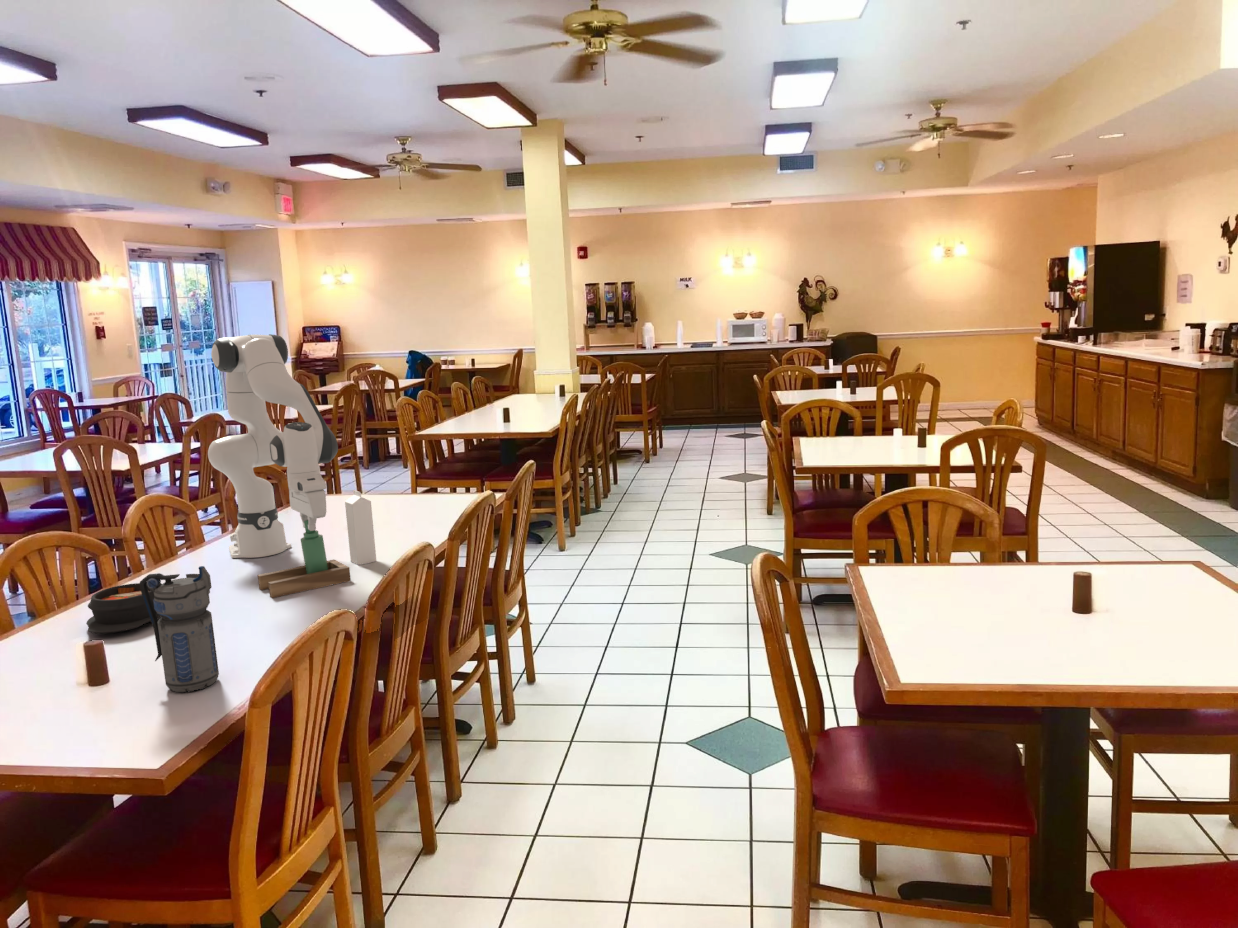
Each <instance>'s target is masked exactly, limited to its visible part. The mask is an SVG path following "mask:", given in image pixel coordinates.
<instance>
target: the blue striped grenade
mask: <svg viewBox="0 0 1238 928" xmlns="http://www.w3.org/2000/svg"><path fill="white" fill-rule="evenodd" d="M198 571H199V572H198V573H186V574H185V577H182V578H179V576H180V573H177V574H167V575H164V574H163V573H150V574H147V575H146V576H145V577H143V578H142V579H141V580H140V581H139V583H140V587H141V593H142V596H143V599H144V602H145V605H146V608H147V611H148V614H149V616H150V619H151V622H150V623H151V625H152V628H153V630H154V637H155V638H154V639H155V644H156V650H157V656H156V658H155V660H154V662H157V661H158V660H159V659H160V657H161V659H162V666H163V674H164V680H165V686H167V688H168V689H169V691H172V692H177V693H187V692H186V691H191V692H195V691H194V690H197V691H199V690H198V689H200V690H203V689H205V688H207V686H208V687H210V686H211V685H213V684H214V683H216V682H217V680H218V677H219V675H220V673H219V671H220V670H219V666H218V665H219V664H218V657H217V649H216V648H217V647H216V641H215V632H214V631H215V630H214V625H213V624H214V623H213V615H212V612H211V611H209V610H208V607H209V605H210V603H211V601H210V600H211V599H210V594H211V589H212V581H211V579H212V578H211V574H210V573H209V572H208V570H207V569H206V567H205V566H204V565H201V566H199V567H198ZM162 581H164V582H163V583H162ZM148 588H149V589H150V590H151V591H152V592H153V593H154V600H153V602H154V607H153V604H152V601H151V598H150V595H149V592H148ZM154 609H155V610H156V612H157V613H158V614H159V615H160V616H161V617H159V618H157V616H156V613H155V610H154ZM202 688H203V689H202Z"/></svg>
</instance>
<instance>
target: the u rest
mask: <svg viewBox="0 0 1238 928" xmlns="http://www.w3.org/2000/svg"><path fill="white" fill-rule="evenodd" d="M327 564H328V570H325V571H320V572H316V573H311V574H306V568H305V564H304V565H301V566H300V565H299V566H295V567H292V568H286V569H280V570H275V571H271V572H265V573H260V574H257V581H258V589H259V590H260V591H263V590H264V591H265V590H269V591H268V592H269V597H270V598H271V599H274V598H278V597H279V598H280V597H283V596H288V595H292V594H298V593H302V592H306V591H310V590H315V589H320V588H325V587H329V585H330V586H333V585H332V584H334V585H337V584H338V583H339V584H343V583H342V582H344V583H346V582H347V583H348V582H351V580H352V579H351V569H350V568H351V567H350V566H348V565H345V564H344V563H342V562H341V561H338V560H337V559H330V560H327ZM324 586H325V587H324Z"/></svg>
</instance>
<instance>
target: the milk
mask: <svg viewBox="0 0 1238 928" xmlns="http://www.w3.org/2000/svg"><path fill="white" fill-rule="evenodd" d="M352 492H353V495H351V496H350V497H349V498H347V499H345V501H344V505H345V514H346V515H345V516H346V518H345V519H346V524H347V525H346V528H347V536H348V537H347V539H348V545H349V546H348V547H349V548H348V549H349V556H350V562H351V563H353V564H355V565H358V566H360V565H364V564H370V563H374V562H377V553H376V552H377V551H376V542H375V540H376V539H375V530H374V519H373V511H372V510H373V509H372V501H371V500H369V499H368V498H367V499H366V498H364V497H362V493H361V491H358V490H355V489H353V491H352Z"/></svg>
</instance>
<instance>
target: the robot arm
mask: <svg viewBox="0 0 1238 928" xmlns="http://www.w3.org/2000/svg"><path fill="white" fill-rule="evenodd" d="M210 354H211V360H212V362H213V365H214V367H215V368H216V369H217V370H218V371H219V372H222V373H226V374H225V389H226V390H225V392H226V400H227V401H226V402H227V412H228V415H229V416H230V418H231V419H232V420H233V421H235V422H238V423H240V424H243V425H245V426H246V428H247V433H243V434H235V435H234V434H233V435H228V436H224V437H221V438H217V439H216V440H213V441H212V442H211V443H210V444H209V447H208V450H207V458H208V461H209V463H210V465H211V466H212V467H213V468H214V469H215V470H217V471H219V472H220V473H222V474H223V475H225V476H226V477H227V478H228V479H229V481H230V482H231V483H232V486H233V488H234V491H235V496H236V501H237V506H238V507H237V508H238V512H237V515H236V516H237V517H236V518H237V523H238V525H237V526H236V529H235V530H234V533H233V534H229V539H230V542H231V543H233V542H234V543H233V544H231V545H229V546H228V549H229V550H228V551H229V553H230V556H231V557H230V558H232V559H238V558H241V559H242V558H245V559H246V558H247V559H248V558H249V559H250V558H251V559H253V558H264V557H268V556H273V555H277V554H280V553H282V552H285V551H286V550H287V549H290V548H292V543H290V542H287V538H286V534H285V533H286V532H285V527H284V524H283V522H281V521H280V520H279V516H278V513H279V511H278V508H277V507H276V503H275V502H276V500H275V494H274V486H273V485H272V483H271V482H270V481H269V480H267V479H265V478H263V477H259V476H257V475H256V473H255V471H254V469H255V468H257V467H264V466H270V465H271V466H272V465H277V466H279V467H283V468H286V467H287V468H286V477H287V487H288V488H287V489H288V494H289V496H288V497H289V506H290V508H291V510H292V511H296V512H298V513H299V516H300V519H301V522H302V528H303V529H305V525H304V521H305V520H308V530H310V531H314V530H316V529H317V526H316V524H317V519H321V518H325V517H326V515H327V497H326V491H325V490H326V489H327V482H326V480H324V478H323V477H322V474H321V467H320V465H319V464H329V463H330V462H331V461H332V460H334V458H335V457H336V455H337V453H338V451H339V444H338V441H337V438H336V436H335V434H334V433H333V431H332V430H331V429H330V427H329V425H327V423H326V421H325V420H324V419H325V418H323V416H322V414H321V413H320V410H319V408H318V407H317V405H316V403H315V402H314V400H313V397H312V396H311V394H310V392H309V391H308V390H307V388H306V387H305V385H304V384H302V383H300V382H298V381H297V380H296V379H294V378H293V377H292V376H291V375H290V374H289V373H290V372H289V371H288V370H287V367H286V364H287V362H288V358H289V349H288V345H287V343H286V340H285V339H284V338H283V336H280V335H277V334H246V335H237V336H232V337H231V336H230V337H228V336H227V337H226V336H225V337H220V338H218V339H216V340H215V341H214V342H213V343H212V347H211V353H210ZM266 402H267V403H270V404H277V405H282V406H286V407H289V408H292V409H294V410H296V411H297V412H298V413H299V414H300V415H301V417H302V419H303V421H304V422H302V421H295V422H290V423H288V424H285V426H284V428H283V431H282V430H280V429H278V428H277V427H276V426H275V425H274V424H273V422H272V421H271V419H270V417H269V414H268V411H267V406H266V405H267V404H266Z"/></svg>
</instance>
